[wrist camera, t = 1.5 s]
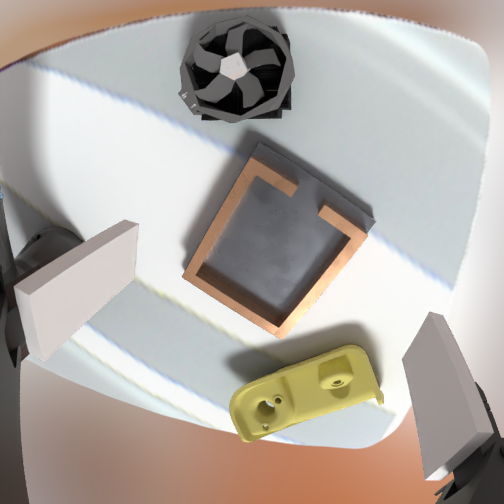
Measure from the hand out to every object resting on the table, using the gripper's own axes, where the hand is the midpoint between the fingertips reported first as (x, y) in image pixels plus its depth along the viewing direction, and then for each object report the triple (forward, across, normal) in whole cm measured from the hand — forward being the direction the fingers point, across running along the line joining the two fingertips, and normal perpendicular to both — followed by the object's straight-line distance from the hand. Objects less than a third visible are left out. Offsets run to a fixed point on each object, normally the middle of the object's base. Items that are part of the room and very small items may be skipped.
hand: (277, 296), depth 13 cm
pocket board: (+21, -2, -7) cm, 22 cm away
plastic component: (+22, +8, -25) cm, 34 cm away
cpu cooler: (+22, -9, +10) cm, 26 cm away
